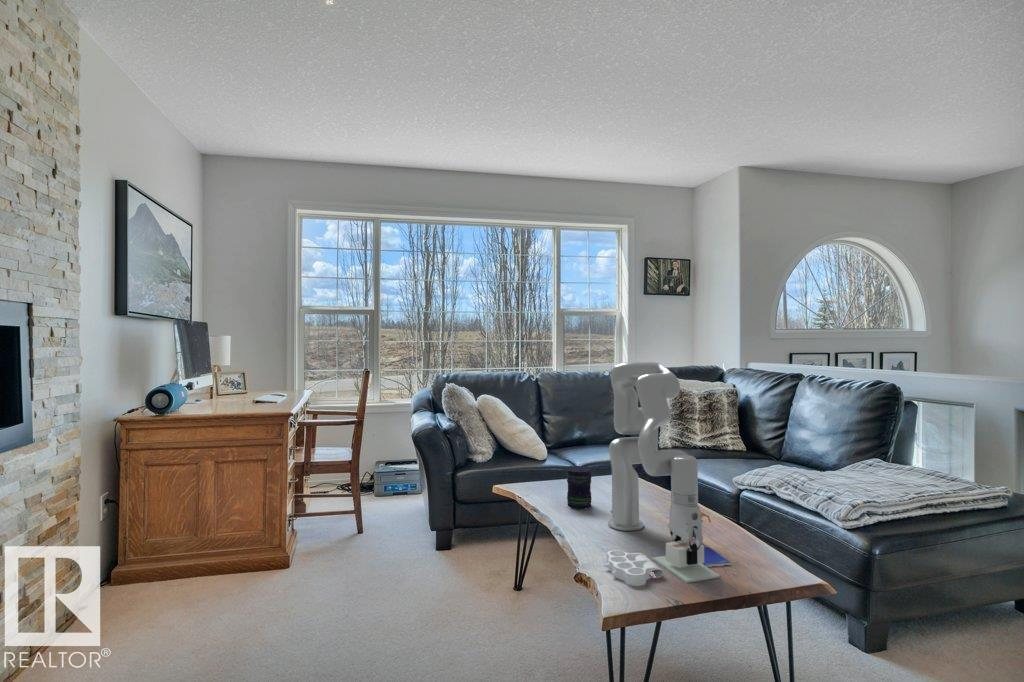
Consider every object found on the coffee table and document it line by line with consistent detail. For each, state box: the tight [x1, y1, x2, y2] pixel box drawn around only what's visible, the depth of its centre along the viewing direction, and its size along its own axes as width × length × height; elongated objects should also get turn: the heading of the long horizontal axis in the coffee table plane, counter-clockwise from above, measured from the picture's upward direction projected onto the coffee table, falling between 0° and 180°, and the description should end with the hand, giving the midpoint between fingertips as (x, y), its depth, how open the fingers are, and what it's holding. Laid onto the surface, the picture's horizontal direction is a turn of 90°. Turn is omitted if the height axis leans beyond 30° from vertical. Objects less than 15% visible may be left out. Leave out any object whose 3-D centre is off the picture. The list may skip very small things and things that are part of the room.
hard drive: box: [701, 546, 732, 568], centre depth 167 cm, size 2×8×12 cm
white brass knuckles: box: [603, 549, 665, 587], centre depth 157 cm, size 3×18×15 cm
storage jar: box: [566, 465, 592, 510], centre depth 221 cm, size 10×10×15 cm
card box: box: [665, 539, 705, 568], centre depth 159 cm, size 9×6×5 cm, turn 112°
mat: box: [652, 555, 721, 584], centre depth 159 cm, size 17×11×1 cm, turn 17°
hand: (684, 558), depth 159 cm, fingers closed on card box, 6 cm apart
